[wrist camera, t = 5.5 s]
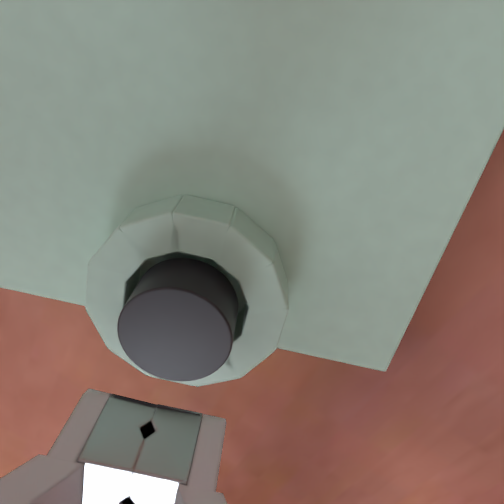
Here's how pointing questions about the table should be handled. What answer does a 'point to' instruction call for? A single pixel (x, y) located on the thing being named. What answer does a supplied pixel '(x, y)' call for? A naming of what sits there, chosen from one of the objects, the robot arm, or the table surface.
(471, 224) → the table surface
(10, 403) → the table surface
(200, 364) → the button
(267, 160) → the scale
